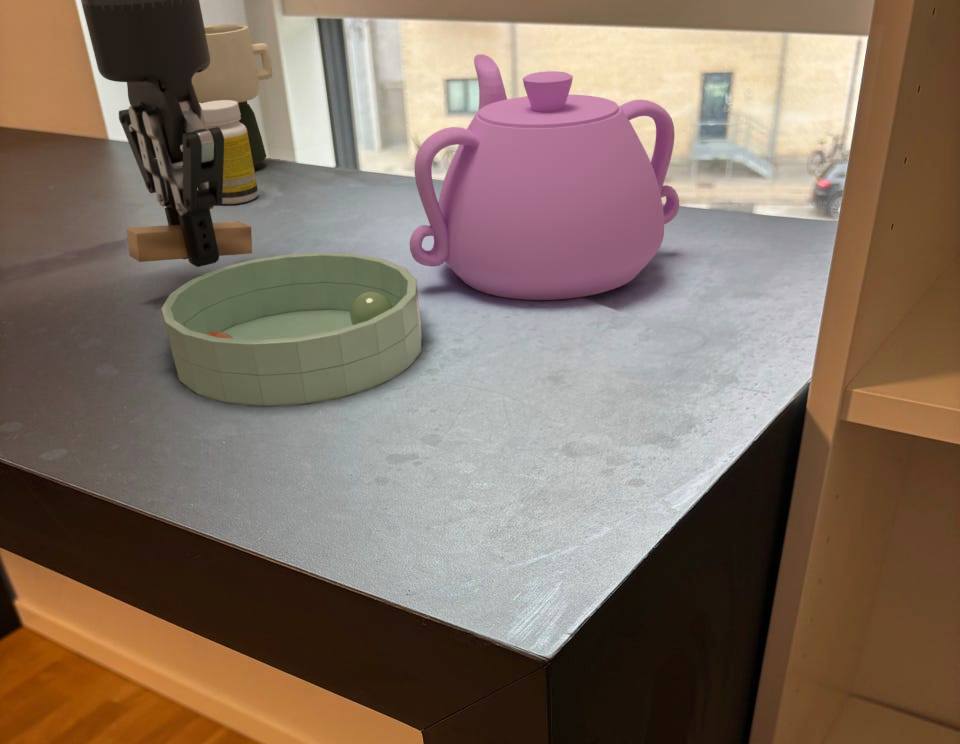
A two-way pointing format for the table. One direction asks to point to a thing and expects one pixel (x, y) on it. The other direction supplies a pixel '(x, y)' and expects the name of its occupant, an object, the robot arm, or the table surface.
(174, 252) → the wooden block
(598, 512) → the table surface
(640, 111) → the teapot
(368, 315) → the sage bead
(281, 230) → the table surface
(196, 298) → the bowl
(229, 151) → the supplement bottle
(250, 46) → the character mug
